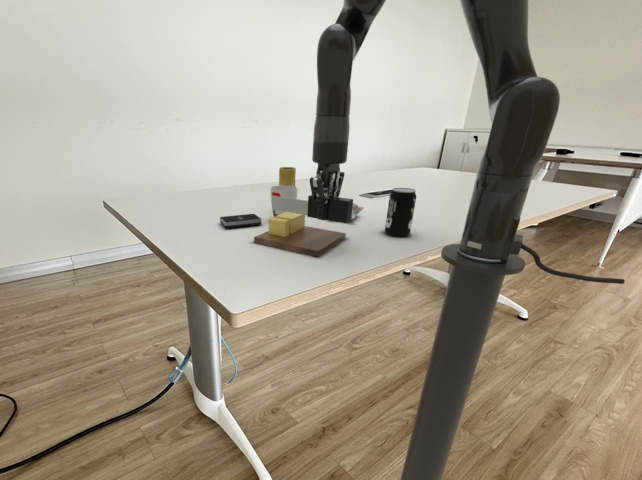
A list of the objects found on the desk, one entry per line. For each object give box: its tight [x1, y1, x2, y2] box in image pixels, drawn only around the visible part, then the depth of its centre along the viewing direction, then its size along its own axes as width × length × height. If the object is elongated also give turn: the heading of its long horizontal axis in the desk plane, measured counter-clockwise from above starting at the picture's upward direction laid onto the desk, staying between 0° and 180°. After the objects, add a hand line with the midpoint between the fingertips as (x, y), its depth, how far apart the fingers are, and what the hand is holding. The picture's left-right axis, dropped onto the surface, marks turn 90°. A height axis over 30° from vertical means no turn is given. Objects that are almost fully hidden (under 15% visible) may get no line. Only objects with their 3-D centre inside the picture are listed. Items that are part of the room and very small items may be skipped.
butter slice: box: [268, 216, 289, 237], centre depth 88 cm, size 5×2×4 cm, turn 57°
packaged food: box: [351, 202, 364, 221], centre depth 108 cm, size 9×12×5 cm
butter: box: [276, 212, 306, 234], centre depth 92 cm, size 5×7×4 cm
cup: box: [269, 185, 299, 218], centre depth 104 cm, size 8×8×10 cm
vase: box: [278, 166, 297, 187], centre depth 113 cm, size 6×6×14 cm
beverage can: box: [384, 187, 417, 238], centre depth 92 cm, size 7×7×12 cm
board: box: [253, 225, 347, 258], centre depth 88 cm, size 18×16×2 cm
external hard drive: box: [219, 213, 262, 229], centre depth 101 cm, size 7×11×2 cm, turn 113°
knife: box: [271, 194, 354, 224], centre depth 82 cm, size 21×3×5 cm, turn 57°
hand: (325, 217), depth 81 cm, fingers closed on knife, 3 cm apart
